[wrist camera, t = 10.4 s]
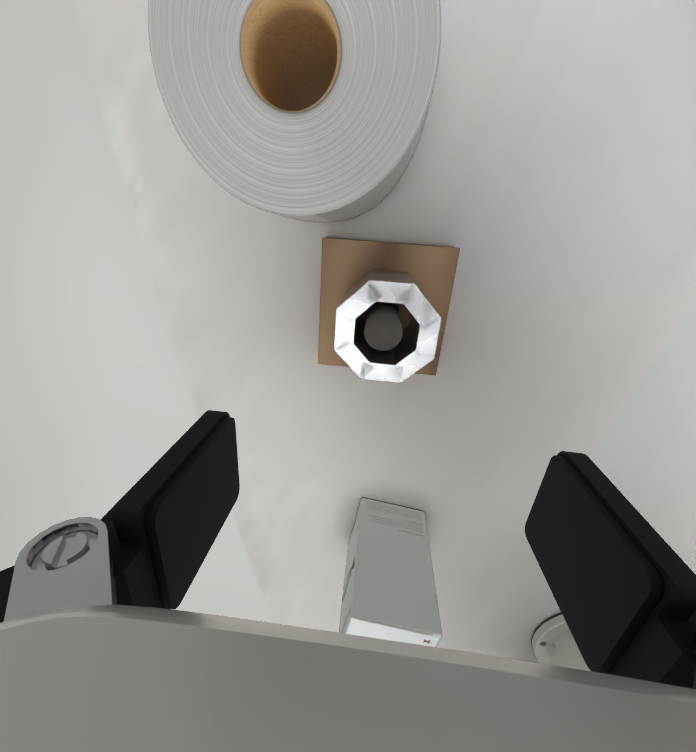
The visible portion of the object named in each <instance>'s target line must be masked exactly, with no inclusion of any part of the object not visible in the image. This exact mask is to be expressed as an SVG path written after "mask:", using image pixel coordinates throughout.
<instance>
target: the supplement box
mask: <svg viewBox="0 0 696 752" xmlns="http://www.w3.org/2000/svg"><path fill="white" fill-rule="evenodd" d="M339 633H344V634H351V635H357V636H364V637H371V638H377V639H384V640H391V641H397V642H404V643H411V644H417V645H424V646H431V647H437V645H438V643H439V641H440V639H441V638H442V630H441V623H440V616H439V609H438V602H437V595H436V588H435V581H434V575H433V567H432V561H431V554H430V547H429V540H428V533H427V526H426V519H425V512H423V511H419V510H415V509H411V508H406V507H402V506H397V505H393V504H389V503H384V502H380V501H375V500H371V499H366V498H362V499H361V501H360V505H359V510H358V514H357V517H356V521H355V524H354V527H353V531H352V534H351V537H350V540H349V543H348V552H347V561H346V569H345V578H344V587H343V596H342V605H341V615H340V626H339Z"/></svg>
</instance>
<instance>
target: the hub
mask: <svg viewBox="0 0 696 752" xmlns="http://www.w3.org/2000/svg"><path fill="white" fill-rule="evenodd" d="M376 301H377V302H389V303H400V304H404V305H405V306H406V307H407V309H408V310H409V311H410V312H411V315H410V322H409V326H407V327H406V328H405V329H403V334H402V338H401V340H400V342H399V343H398V345H397V346H395V347H394V348H392V349H390V350H386V351H381V350H376V349H374V348H372V347H371V346H370V345H369V344H368V343H367V341H366V339H365V336H364V329H365V327H364V326H363V325H362V324H361V322H360V321H359V315H360V314H362V313H363V312H364V311H365V310H366V309H368V308H369V307H370V306H371V305H372V304H374V303H375V302H376ZM440 323H441V317H440V315H439V314H438V312H437V311H436V309H435V308H434V306H433V305H432V303H431V302H430V300H429V299H428V298H427V297H426V295H425V294H424V293H423V291H422V290H421V289H420V288H419V286H418V285H417V284H416V282H415V281H414V280H413V279H412V277H411V276H410V275H409V273H408V272H400V271H388V270H376V269H372V270H371V271H370V272H369V273H367V274H366V275H365V276H364V277H363V278H362V279H361V280H359V281H358V282H357V283H356V284H355V285H354V286H353V287H351V288H350V289H349V290H348V291H347V292H346V293H345V295H344V296H343V298H342V300H341V302H340V303H339V305H338V307H337V311H336V329H335V347H334V350H335V351H336V352H337V353H338V354H339V355H340V356H341V357H342V359H343V360H344V361H345V362H346V363H347V364H348V365H349V366H350V367H351V369H352V370H353V371H354V372H355V373H356V374H357V375H358V376H359V377H360V379H368V380H378V381H388V382H398V383H401V382H402V381H404V380H405V379H406V378H408V377H409V376H411V375H412V374H414V373H415V372H416V371H418V370H419V369H421V368H422V367H423V366H425V365H426V364H428V363H429V362H430V361H432V360H433V359H434V355H435V350H436V345H437V339H438V334H439V328H440Z"/></svg>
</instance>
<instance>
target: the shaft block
mask: <svg viewBox="0 0 696 752" xmlns="http://www.w3.org/2000/svg"><path fill="white" fill-rule="evenodd" d="M459 251H460V249H459V248H455V247H444V246H431V245H419V244H406V243H393V242H380V241H367V240H354V239H341V238H328V237H326V238H323V240H322V268H321V296H320V324H319V352H318V364H326V365H336V366H346V367H350V366H349V365H348V364H347V363H346V362H345V361H344V360H343V359H342V357H341V356H340V355H339V354H338V353H337V352H336V351H335V350H334V347H335V329H336V311H337V307H338V305H339V303H340V302H341V300H342V298H343V296H344V295H345V293H346V292H347V291H348V290H349V289H350V288H351V287H353V286H354V285H355V284H356V283H357V282H358V281H359V280H361V279H362V278H363V277H364V276H365V275H366V274H367V273H369V272H370V271H371V270H372V269H376V270H388V271H400V272H408V273H409V275H410V276H411V277H412V279H413V280H414V281H415V282H416V284H417V285H418V286H419V288H420V289H421V290H422V291H423V293H424V294H425V295H426V297H427V298H428V299H429V300H430V302H431V303H432V305H433V306H434V308H435V309H436V311H437V312H438V314H439V315H440V317H441V323H440V328H439V334H438V339H437V345H436V350H435V355H434V359H433V360H432V361H430V362H429V363H428V364H426V365H425V366H423V367H422V368H421V369H419V370H418V371H416V372H415V373H417V374H427V375H436V371H437V366H438V361H439V356H440V350H441V345H442V340H443V335H444V329H445V324H446V319H447V314H448V308H449V303H450V298H451V293H452V288H453V282H454V277H455V272H456V267H457V261H458V256H459ZM410 315H411V312H410V311H409V310H408V309H407V307H406V306H405V305H404V304H400V303H389V302H377V301H376V302H375V303H374V304H372V305H371V306H370V307H369V308H368V309H366V310H365V311H364V312H363V313H362V314H360V315H359V321H360V322H361V324H362V325H363V326H364V327H365V329H364V336H365V339H366V341H367V343H368V344H369V345H370V346H371V347H372V348H374V349H376V350H381V351H386V350H390V349H392V348H394V347H395V346H397V345H398V343H399V342H400V340H401V338H402V334H403V329H405V328H406V327H407V326H409V322H410Z"/></svg>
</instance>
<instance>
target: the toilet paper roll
mask: <svg viewBox="0 0 696 752" xmlns="http://www.w3.org/2000/svg"><path fill="white" fill-rule="evenodd" d="M148 31H149V41H150V50H151V56H152V62H153V67H154V71H155V75H156V80H157V84H158V87H159V90H160V93H161V96H162V99H163V102H164V104H165V107H166V109H167V112H168V114H169V117H170V119H171V121H172V123H173V125H174V127H175V129H176V131H177V133H178V134H179V136H180V138H181V140H182V141H183V143H184V145H185V146H186V148H187V149H188V150H189V152H190V153H191V155H192V156H193V158H194V159H195V160H196V161H197V162H198V164H199V165H200V166H201V167H202V169H203V170H204V171H205V172H206V173H207V174H208V175H209V176H210V177H211V178H212V179H213V180H214V181H216V182H217V183H218V184H219V185H220V186H221V187H222V188H224V189H225V190H227V191H228V192H229V193H231V194H232V195H233V196H235V197H237V198H239V199H240V200H242V201H244V202H245V203H248V204H250V205H252V206H254V207H256V208H259V209H262V210H265V211H268V212H271V213H274V214H277V215H281V216H284V217H288V218H293V219H297V220H302V221H308V222H337V221H342V220H347V219H350V218H354V217H357V216H359V215H361V214H363V213H365V212H367V211H369V210H370V209H372V208H373V207H375V206H376V205H377V204H378V203H380V202H381V201H382V200H383V199H384V198H385V197H386V196H387V195H388V194H389V192H390V191H391V190H392V189H393V188H394V186H395V185H396V184H397V182H398V181H399V179H400V178H401V176H402V175H403V173H404V171H405V169H406V168H407V166H408V164H409V162H410V160H411V158H412V156H413V154H414V151H415V149H416V147H417V144H418V141H419V138H420V135H421V132H422V129H423V126H424V123H425V120H426V116H427V112H428V108H429V104H430V100H431V96H432V92H433V88H434V84H435V79H436V74H437V68H438V62H439V54H440V43H441V10H440V0H148Z"/></svg>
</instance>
